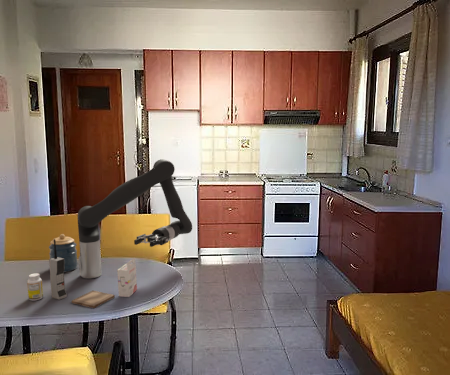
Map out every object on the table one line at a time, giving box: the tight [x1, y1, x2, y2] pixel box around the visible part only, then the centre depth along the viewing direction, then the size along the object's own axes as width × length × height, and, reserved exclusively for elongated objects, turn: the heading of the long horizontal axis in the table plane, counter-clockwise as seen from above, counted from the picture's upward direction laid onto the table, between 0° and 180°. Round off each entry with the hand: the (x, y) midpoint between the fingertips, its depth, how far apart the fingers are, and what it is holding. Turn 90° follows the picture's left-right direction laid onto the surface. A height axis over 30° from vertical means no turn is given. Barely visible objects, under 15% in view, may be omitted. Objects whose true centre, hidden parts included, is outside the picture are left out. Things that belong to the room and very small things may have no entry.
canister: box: [48, 233, 79, 273], centre depth 215 cm, size 13×13×18 cm
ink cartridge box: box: [116, 257, 138, 298], centre depth 183 cm, size 9×5×15 cm, turn 168°
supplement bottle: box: [26, 272, 44, 302], centre depth 178 cm, size 6×6×10 cm
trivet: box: [71, 290, 116, 309], centre depth 177 cm, size 12×12×1 cm
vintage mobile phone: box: [48, 238, 68, 301], centre depth 178 cm, size 4×5×25 cm
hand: (142, 243), depth 191 cm, fingers open, 8 cm apart
